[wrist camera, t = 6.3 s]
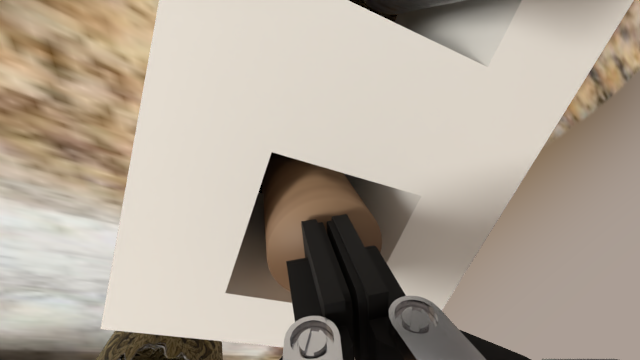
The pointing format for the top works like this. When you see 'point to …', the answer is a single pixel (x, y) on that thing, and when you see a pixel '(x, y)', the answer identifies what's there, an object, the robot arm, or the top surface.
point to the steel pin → (404, 5)
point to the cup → (159, 347)
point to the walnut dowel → (307, 209)
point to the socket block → (333, 142)
